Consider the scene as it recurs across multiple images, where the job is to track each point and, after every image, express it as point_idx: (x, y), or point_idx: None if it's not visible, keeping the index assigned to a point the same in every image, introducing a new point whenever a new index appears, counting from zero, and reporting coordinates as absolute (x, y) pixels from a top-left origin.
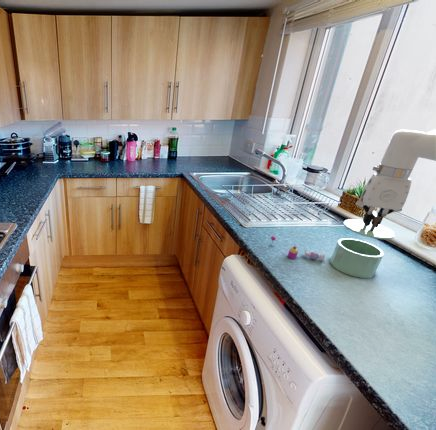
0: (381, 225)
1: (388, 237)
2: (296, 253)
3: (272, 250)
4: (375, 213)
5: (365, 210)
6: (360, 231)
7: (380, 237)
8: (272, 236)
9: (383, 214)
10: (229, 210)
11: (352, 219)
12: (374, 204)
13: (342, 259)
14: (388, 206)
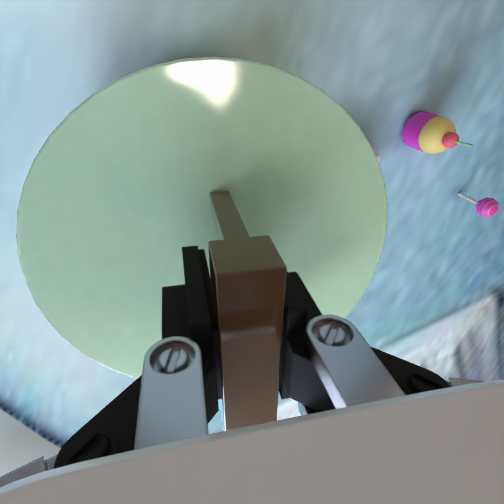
0: (107, 363)
1: (91, 104)
2: (429, 120)
3: (469, 154)
4: (241, 381)
5: (387, 355)
6: (322, 136)
7: (175, 60)
8: (498, 209)
9: (181, 362)
10: (493, 379)
11: None
12: (488, 431)
13: None
14: (217, 489)
